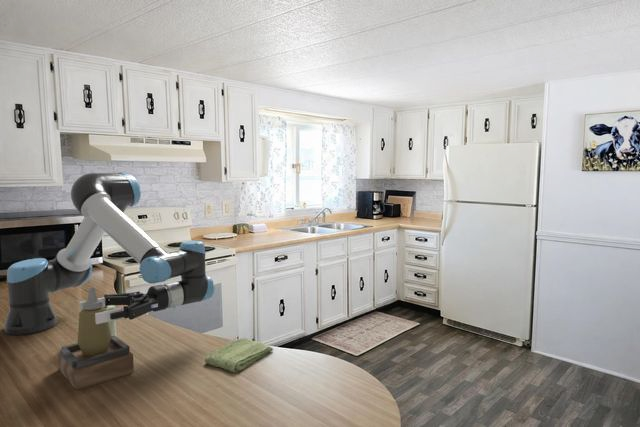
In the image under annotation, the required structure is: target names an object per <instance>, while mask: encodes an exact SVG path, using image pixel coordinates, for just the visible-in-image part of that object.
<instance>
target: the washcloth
mask: <svg viewBox="0 0 640 427" xmlns="http://www.w3.org/2000/svg"><path fill="white" fill-rule="evenodd" d="M273 350H274V348H273V347H272V346H269V345H268V344H265V343H262V342H260V341H258V340H251V339H249V338H246V337H243V338H240V339H235V340H234V341H231V342H230V343H228V344H226V345H224V346H223V347H221V348H218V349H215V351H212V352H210V353H209V354H207V355H206V356H205V358H204V363H205V364H206V365H210V366H213V367H216V368H220V369H224V370H225V371H228V372H231V373H238V372H240V371H243V370H244V369H246V368H248V367H249V366H250V365H253V364H254V363H255V362H257V361H258V360H259V359H261V358H263V357H265V355H267V354H270V353H271V352H272V351H273Z"/></svg>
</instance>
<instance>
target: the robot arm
mask: <svg viewBox="0 0 640 427" xmlns="http://www.w3.org/2000/svg"><path fill="white" fill-rule="evenodd" d="M141 191H142V190H141V185H140V183H139V182H138V180H137V179H136V178H135V177H134V176H133V175H132V174H129V173H122V172H117V173H116V172H113V173H112V172H110V173H109V172H105V173H104V172H101V173H100V172H99V173H97V172H91V173H86V174H84V175H81V176H79V177H78V178H77V179H76V180H75V181H74V182H73V185H72V187H71V190H70V199H71V202H72V204H73V206H74V208H75V209H76V210H77V212H79V213H80V215H81V216H82V217H83V219H82V220H81V223H80V224H79V226H78V227H77V229H76V231H75V232H74V234H73V236H72V238H71V239H70V241H69V243H68V244H67V246H66V247H65V248H62V249H60V250H59V251H58V252H57V254H56V256H55V258H54V259H51V260H47V259H46V258H44V257H35V258H31V259H30V258H28V259H26V260H21V261H18V262H14V263H12V264H11V265H10V266H9V267H8V268H7V270H6V271H7V272H6V274H7V275H6V282H7V293H8V304H9V305H8V307H9V308H8V309H9V310H8V313H7V315H6V319H5V322H4V325H3V326H4V333H5V334H6V335H13V336H14V335H15V336H16V335H17V336H18V335H19V336H20V335H28V334H34V333H38V332H43V331H46V330H49V329H51V328H53V327H55V326H56V325H57V322H58V321H57V320H58V319H57V316H56V313H55V311H54V309H53V307H52V305H51V303H50V301H51V300H50V294H52V293H55V292H60V291H65V290H68V289H71V288H76V287H80V286H82V285H84V284H86V283H87V282H88V281H89V280H90V278H91V276H92V274H93V271H92V269H93V264H92V262H91V258H92V255H93V253H94V252H95V250H96V249H97V247H98V246H99V244H100V243H101V241H102V239H103V238H104V236H105V235H106V234H107V235H108V236H109V237H110V238H111V239H112V240H113V241H114V242H115V243H117V245H119V247H120V248H122V249H123V250H124V251H125V252H126V253H127V254H128V255H129V256H131V257H132V259H133V260H134V261H135V262H137V263H138V264H139V274H140V275H141V278H142V280H143V281H144V282H146V283H148V284H157V283H163V282H166V281H169V280H170V279H175V278H177V277H180V278H181V280H177V281H173V282H166V283H163V284H157V285H153V286H152V285H151V286H149V287H148V289H147V292H146V293H143V292H141V291H139V290H138V291H134V292H133V291H132V292H122V293H111V294H104V295H103V297H97V298H98V299H100V300H102V302H103V306H102V307H104V308H106V307H107V306H111V305H115V306H123V307H119V308H115V309H113V310H109V311H104V312H99V313H95V321H96V324H100V323H105V322H109V321H113V320H121V319H128V320H134V319H136V318H138V317H139V318H140V317H142V316H143V315H145V314H148V313H150V312H158V311H159V312H160V311H164V310H166V309H173V310H174V309H176V307H180V306H185V305H190V304H194V303H199V302H203V301H206V300H210V299H211V298H212V297H213V295H214V293H215V285H214V281H213V279H212V278H211V277H210V276H208V275H206V274H207V273H206V248H205V244H204V242H203V241H201V240H185V241H182V242H181V243H180V245H179V250H175V251H172V252H167V251H166V250H165V249H164V248H162V247H161V246H160V245H159V244H158V243H157V242H156V241H154V239H152V238H151V237H150V236H149V235H148V234H147V233H146V232H145V230H144V231H143V229H142V228H140V227H139V226H138V225H137V223H135V221H133V220H132V219H130V218H129V216H128V215H126V214H125V211H126V210H127V208H128V207H134V206H136V205H137V204H138V203H139V202H140V200H141V198H142V197H141V195H142V194H141V193H142V192H141ZM85 301H86V300H84V301H83V300H82V301H79V302H78V305H79V307H78V308H79V313H80V312H81V311H82V310H83V302H85Z"/></svg>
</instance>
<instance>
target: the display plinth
mask: <svg viewBox="0 0 640 427" xmlns="http://www.w3.org/2000/svg"><path fill="white" fill-rule="evenodd" d="M116 336H117V335H116ZM116 336H111V340H110V343H109V347H108V350H107V352H106V353H103V354H100V355H96V356H92V357H86V356H84V355H83V353H82V351H81V349H80V347H79V345H78V342H76V343H71V344H68V345H65V346H61V349H60V348H59V351H57V356H58V360H57V361H58V371H60V373H61V374H62V375H63V377H65V379H66V381H68V382H69V383H70V384H71V385H72V387H73V388H74V389H75V391H80V390H83V389H87V388H88V387H91V386H95V385H97V384H101V383H103V382H106V381H107V382H108V381H110V380H113V379H116V378H119V377H123V376H126V375H128V374H132V373H135V369H134V367H135V366H134V363H135V362H134V354H133V353H132V352H131V351H130V345H129V344H127V343H126V342H124V341H123V340H121V339H120V338H119V337H116Z"/></svg>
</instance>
